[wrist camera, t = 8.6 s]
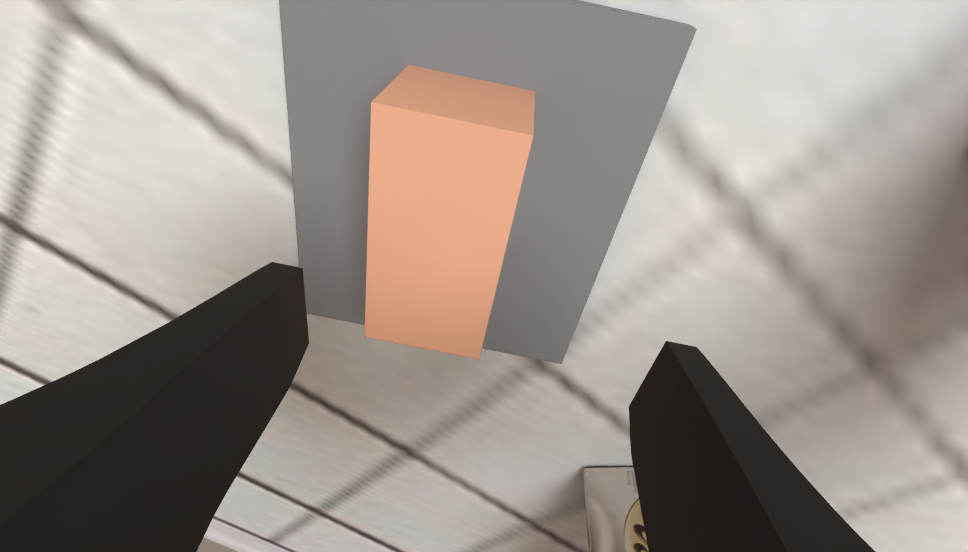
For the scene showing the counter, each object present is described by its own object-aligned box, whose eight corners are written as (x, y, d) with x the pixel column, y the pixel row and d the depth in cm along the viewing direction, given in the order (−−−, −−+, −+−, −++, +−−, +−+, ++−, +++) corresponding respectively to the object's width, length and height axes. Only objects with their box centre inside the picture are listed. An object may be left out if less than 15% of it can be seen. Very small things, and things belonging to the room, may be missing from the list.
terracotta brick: (408, 64, 15) (371, 101, 11) (535, 91, 15) (533, 135, 11) (394, 269, 19) (364, 337, 16) (489, 288, 19) (479, 359, 16)
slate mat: (689, 24, 14) (696, 28, 13) (560, 351, 22) (561, 363, 22) (287, -64, 14) (274, -64, 13) (309, 301, 22) (302, 312, 21)
